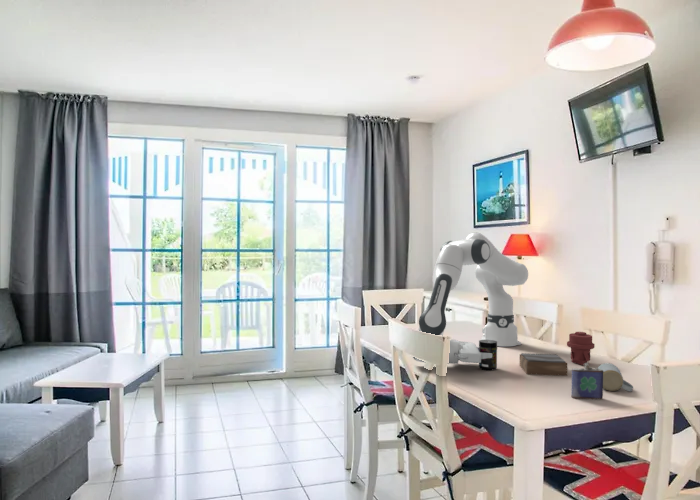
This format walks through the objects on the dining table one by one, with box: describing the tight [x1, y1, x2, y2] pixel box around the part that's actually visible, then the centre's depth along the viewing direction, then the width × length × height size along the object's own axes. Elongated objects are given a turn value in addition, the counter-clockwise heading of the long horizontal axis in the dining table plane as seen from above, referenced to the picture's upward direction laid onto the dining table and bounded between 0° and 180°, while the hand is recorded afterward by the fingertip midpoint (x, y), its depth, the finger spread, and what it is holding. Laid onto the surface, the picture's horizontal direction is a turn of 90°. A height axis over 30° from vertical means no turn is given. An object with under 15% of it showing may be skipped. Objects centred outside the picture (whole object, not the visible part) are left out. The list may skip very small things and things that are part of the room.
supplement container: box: [478, 339, 498, 372], centre depth 191 cm, size 7×7×10 cm
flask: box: [570, 362, 604, 401], centre depth 155 cm, size 9×3×11 cm, turn 84°
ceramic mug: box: [597, 362, 634, 393], centre depth 165 cm, size 11×8×8 cm
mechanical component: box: [566, 331, 596, 366], centre depth 200 cm, size 12×10×10 cm
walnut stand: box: [519, 352, 568, 377], centre depth 189 cm, size 13×14×5 cm
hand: (490, 352), depth 191 cm, fingers closed on supplement container, 7 cm apart
